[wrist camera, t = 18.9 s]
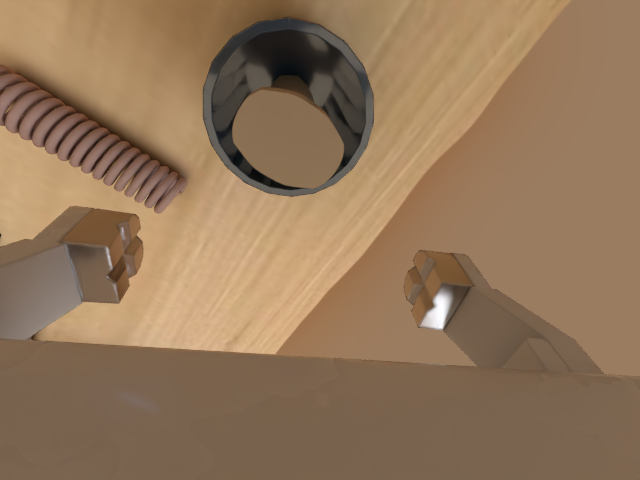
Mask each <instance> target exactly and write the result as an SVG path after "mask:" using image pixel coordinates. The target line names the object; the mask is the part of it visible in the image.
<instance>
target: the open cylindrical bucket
mask: <svg viewBox="0 0 640 480" xmlns="http://www.w3.org/2000/svg"><path fill="white" fill-rule="evenodd" d="M282 75H284V76H285V75H292V76H299V77H300V78H301V79H302V80H303V81H304V82H305V84H306V85H307V86H308V88H309V89H310V91H311V93H312V96H313V99H314V103H315V104H316V105H318V106H319V107H320V108H322V109H323V110H324V111H325V112H326V113H327V115H328V116H329V118H330V119H331V121H332V123H333V125H334V126H335V128H336V130H337V132H338V133H339V135H340V137H341V139H342V141H343V144H344V153H343V158H342V161H341V163H340V165H339V167H338V169H337V170H336V172H335V173H334V174H333V175H332V177H331V178H330V179H329V180H327V181H326V182H325V183H324V184H322V185H320V186H318V187H316V188H313V189H311V188H300V187H292V186H287V185H283V184H281V183H279V182H276V181H275V180H273V179H271V178H269V177H267V176H266V175H264V174H262V173H261V172H259V171H258V170H256V169H255V168H254V167H253V166H252V165H251V164H250V163H249V162H248V161H247V160H246V158H245V157H244V156H243V155H242V153H241V152H240V151H239V149H238V148H237V147H236V145H235V144H234V142H233V136H232V127H233V123H234V119H235V117H236V114H237V112H238V110H239V108H240V106H241V105H242V103H243V102H244V100H245V99H246V98H247V97H248V96H249V95H250V94H251V93H252V92H254V91H255V90H257V89H259V88H261V87H263V86H264V87H270V86H271V84H272V83H273V82H274V81H275V80H276V79H278V78H279V77H280V76H282ZM203 120H204V123H205V126H206V130H207V133H208V136H209V139H210V142H211V144H212V147H213V148H214V150H215V151H216V153H217V154H218V156H219V157H220V159H221V160H222V161H223V163H224V164H225V166H227V168H228V169H229V170H230V171H232V172H233V173H234V174H235V175H236V176H238V177H239V178H240V179H241V180H242V181H243V182H245V183H246V184H248V185H251V186H253V187H255V188H257V189H259V190H262V191H264V192H266V193H269V194H276V195H283V196H291V197H292V196H299V195H307V194H313V193H316V192H318V191H320V190H323V189H325V188H327V187H329V186H332V185H334V184H335V183H337V182H338V181H339V180H340V179H341V178H343V177H344V176H345V175H346V174H347V173H348V172H349V171H351V170H352V169H353V168H354V167H355V165H356V163H357V162H358V160H359V159H360V157H361V156H362V154H363V152H364V151H365V149H366V147H367V145H368V141H369V137H370V134H371V130H372V127H373V123H374V102H373V92H372V89H371V86H370V83H369V80H368V77H367V74H366V71H365V68H364V66H363V64H362V63H361V62H360V60H359V59H358V58H357V56H356V55H355V54H354V52H353V51H352V50H351V48H350V47H349V46H348V44H347V43H346V42H345V41H344V40H342V39H341V38H339V37H338V36H336V35H335V34H333V33H332V32H330V31H329V30H327V29H326V28H324V27H323V26H321V25H319V24H317V23H314V22H311V21H307V20H303V19H299V18H294V17H282V18H275V19H268V20H263V21H259V22H256V23H255V24H253V25H251V26H250V27H248V28H246V29H244V30H243V31H241V32H239V33H237V34H236V35H234V36H232V38H230V39H229V41H228V42H227V43H226V44H225V46H224V47H223V48H222V49H221V51H220V52H219V53H218V54H217V56H216V57H215V58H214V59H213V61H212V63H211V66H210V69H209V72H208V75H207V78H206V81H205V84H204V87H203Z"/></svg>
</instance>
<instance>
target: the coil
mask: <svg viewBox="0 0 640 480" xmlns="http://www.w3.org/2000/svg"><path fill="white" fill-rule="evenodd" d="M4 88H5V89H4ZM3 89H4V92H3V93H2V94H1V95H0V126H6V128H7V130H8V131H10V132H12V133H19V135H20V137H21V138H23V139H24V140H32V142H33V144H34V145H35V146H37V147H45V150H46V151H47V152H48V153H49V154H56V153H57V156H58V158H59V159H60V160H62V161H66V160H69V159H70V161H69V163H70V165H71V166H73V167H79V166H81V165H82V166H81V170H82V172H84V173H87V174H88V173H91V172H92V171H93V170H94V171H93V175H92V176H93V178H95V179H97V180H99V179H102V178H103V177H104V175H105V174H106V173H107V171H108V170H109V169H110V167H111V165H112V164H113V162H114V160H115V158H116V157H117V156H118V155H119V154H120V153H121V154H120V156H119V159H118V160H117V161H116V162H115V163H114V165H113V166H112V167H111V169H110V170H109V171H108V173H107V174H106V176H105V178H104V181H103V182H104V184H105V185H108V186H110V185H112V184H113V183H114V182H115V180H116V179H117V177H118V176H119V174H120V173H121V171H122V170H123V168H124V167H125V165H126V164H127V163H128V162H129V161H130V162H129V164H128V166H127V168H126V170H125V171H124V172H123V174H122V175H121V176H120V178H119V179H118V180H117V182H116V184H115V185H114V189H115V190H116V191H122V190H123V189H124V187H125V186H126V185H127V183H128V181H129V180H130V179H131V177H132V176H133V175H134V174H135V172H136V171H137V170H138V171H137V173H136V175H135V176H134V178H133V180H132V182H131V183H130V185H129V186H128V188H127V189H126V190H125V195H126V196H127V197H132V196H133V195H134V193H135V192H136V190H137V189H138V188H139V187H140V185H141V184H142V183H143V182H144V183H143V184H142V186H141V188H140V190H139V191H138V193H137V195H136V196H135V201H136V202H138V203H141V202H142V201H143V200H144V199H145V198H146V196H147V195H148V194H149V193H150V194H149V196H148V197H147V199H146V201H145V204H144V205H145V207H147V208H151V207H153V206H154V204H155V203H156V202H157V203H156V205H155V207H154V211H155V212H156V213H161V212H163V211H164V210H165V208H166V207H167V206H168V205H169V204H170V202H171V201H172V200H173V199H174V197H175V196H176V195H177V194H178V192H179V193H182V192H183V190H184V189H185V187H186V185H187V179H186V178H184V177H182V178H180V179H179V180H178V173H176V172H171V173H170V174H169V168H168V167H167V166H162V167H160V163H159V161H157V160H152V161H151V158H150V156H149V155H148V154H142V155H141V152H140V150H139V149H138V148H131V145H130V144H129V143H128V142H126V141H121V140H120V138H119V137H118V136H117V135H114V134H112V135H110V132H109V130H107V129H106V128H102V127H101V128H100V127H99V125H98V124H97V123H96V122H95V121H91V120H90V121H89V120H88V118H87V117H86V116H85V115H84V114H81V113H77V112H76V110H75V109H74V108H73V107H70V106H65V104H64V103H63V102H62V101H61V100H60V99H57V98H53V96H52V95H51V94H50V93H49V92H47V91H44V90H41V89H40V88H39V87H38V86H37V85H36V84H34V83H31V82H28V81H27V80H26V79H25V78H24V77H23V76H21V75H19V74H15V73H14V72H13V71H12V70H11V69H10V68H9V67H6V66H4V65H0V92H1V91H2V90H3ZM16 98H17V99H16ZM15 99H16V101H15V103H14V105H13V106H12V107H11V109H10V110H9V111H8V112H7V113H6V114H5V112H6V110H7V109H8V107H9V106H10V105H11V103H12V102H13V101H14V100H15ZM55 108H56V109H55ZM27 109H28V110H27ZM26 110H27V111H26ZM25 111H26V113H25ZM24 113H25V114H24ZM23 114H24V116H23V117H22V115H23ZM66 115H68V117H66ZM21 117H22V118H21ZM20 118H21V119H20ZM77 123H79V125H78V126H77ZM76 126H77V127H76ZM88 131H90V133H89V134H88V135H87V133H88ZM86 135H87V136H86ZM100 138H101V140H100V142H99V143H98V144H97V145H96V143H97V141H98V139H100ZM95 145H96V146H95ZM109 146H111V148H110V150H109V151H108V152H107V153H106V154H105V152H106V150H107V148H108V147H109ZM104 154H105V155H104ZM144 180H145V181H144ZM177 180H178V181H177ZM150 191H151V192H150Z"/></svg>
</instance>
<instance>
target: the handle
mask: <svg viewBox="0 0 640 480" xmlns="http://www.w3.org/2000/svg"><path fill="white" fill-rule="evenodd" d="M232 136H233V142H234V144H235V145H236V147H237V148H238V149H239V151H240V152H241V153H242V155H243V156H244V157H245V158H246V160H247V161H248V162H249V163H250V164H251V165H252V166H253V167H254V168H255V169H256V170H258V171H259V172H261V173H262V174H264V175H266V176H267V177H269V178H271V179H273V180H275V181H276V182H279V183H281V184H283V185H287V186H292V187H300V188H311V189H313V188H316V187H318V186H320V185H322V184H324V183H325V182H326V181H327V180H329V179H330V178H331V177H332V175H333V174H334V173H335V172H336V170H337V169H338V167H339V165H340V163H341V161H342V158H343V153H344V144H343V141H342V139H341V137H340V135H339V133H338V132H337V130H336V128H335V126H334V125H333V123H332V121H331V119H330V118H329V116H328V115H327V113H326V112H325V111H324V110H323V109H322V108H320V107H319V106H318V105H316V104H315V103H314V99H313V96H312V93H311V91H310V89H309V88H308V86H307V85H306V84H305V82H304V81H303V80H302V79H301V78H300V77H299V76H292V75H285V76H284V75H282V76H280V77H279V78H278V79H276V80H275V81H274V82H273V83H272V84H271V86H270V87H264V86H263V87H261V88H259V89H257V90H255V91H254V92H252V93H251V94H250V95H249V96H248V97H247V98H246V99H245V100H244V102H243V103H242V105H241V106H240V108H239V110H238V112H237V114H236V117H235V119H234V123H233V127H232Z"/></svg>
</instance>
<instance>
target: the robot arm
mask: <svg viewBox="0 0 640 480" xmlns="http://www.w3.org/2000/svg"><path fill="white" fill-rule="evenodd" d="M140 229H141V227H140V221H139V217H138V216H137V215H136V214H130V213H123V212H116V211H109V210H102V209H94V208H88V207H80V206H72V207H69V208H68V209H67V210H66V211H64V212H63V213H62V214H61V215H60V216H59V217H58V218H56V219H55V220H54V221H53V222H52V223H51V224H50V225H48V226H47V227H46V228H45V229H44V230H43V231H42V232H41V233H39V234H38V235H37V236H36V237H35V238H34V239H33V240H29V239H24V240H20V241H17V242H14V243H11V244H8V245H5V246H2V247H0V480H640V376H625V375H610V374H604V373H603V372H602V371H601V370H600V368H599V367H598V366H597V365H596V364H595V363H594V361H593V360H592V359H591V358H590V357H589V356H588V355H587V353H586V352H585V351H584V350H583V349H582V347H581V346H580V345H579V344H578V343H577V342H576V341H575V340H574V339H573V338H571V337H570V336H568V335H566V334H565V333H563V332H562V331H560V330H559V329H557V328H556V327H554V326H553V325H551V324H550V323H548V322H546V321H545V320H543V319H542V318H540V317H539V316H537V315H535V314H534V313H533V312H531V311H529V310H528V309H526V308H525V307H523V306H522V305H520V304H519V303H517V302H516V301H514V300H512V299H511V298H509V297H508V296H506V295H505V294H503V293H502V292H500V291H499V290H497V289H492V288H491V287H490V285H489V284H488V282H487V281H486V280H485V278H484V277H483V276H482V274H481V273H480V271H479V270H478V269H477V267H476V266H475V265H474V263H473V262H472V260H471V259H470V258H469V257H468V256H467V255H465V254H456V253H443V252H434V251H423V250H419V251H418V252H417V253H416V255H415V257H414V259H413V262H414V265H415V267H413V268H412V269H410V270H409V271H408V272H407V275H406V277H405V281H404V293H405V296H406V299H407V300H408V301H409V302H410V303H411V304H412V305H413V308H412V310H411V311H412V314H413V316H414V319H415V321H416V323H417V326H418V328H427V329H436V330H444V332H445V333H446V334H447V335H448V337H450V339H451V340H452V341H454V343H456V345H457V346H458V347H459V348H460V349H461V350H462V351H463V352H464V353H465V354H466V355H467V356H468V357H469V358H470V359H471V360H472V361H473V362H474V363H475V364H476V365H477V366H478V367H474V366H456V365H439V364H421V363H406V362H390V361H374V360H358V359H342V358H324V357H307V356H290V355H274V354H257V353H239V352H222V351H205V350H189V349H172V348H155V347H138V346H121V345H105V344H88V343H71V342H54V341H37V340H26V339H28V338H29V337H31V336H32V335H34V334H35V333H37V332H38V331H40V330H42V329H43V328H45V327H46V326H48V325H49V324H51V323H52V322H54V321H56V320H57V319H59V318H60V317H62V316H63V315H65V314H66V313H68V312H69V311H71V310H73V309H74V308H76V307H77V306H79V305H80V304H82V302H99V303H117V304H119V303H120V301H121V299H122V298H123V296H124V294H125V292H126V291H127V289H128V287H129V286H130V285H129V279H128V278H130V277H132V276H134V275H136V274H137V272H138V270H139V268H140V266H141V262H142V259H143V242H142V241H141V240H140V238H139V237H138V236H137V233H138V232H139V230H140Z"/></svg>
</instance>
